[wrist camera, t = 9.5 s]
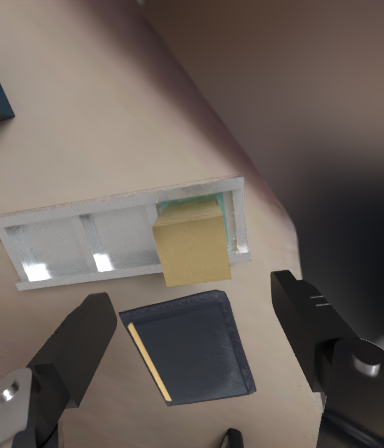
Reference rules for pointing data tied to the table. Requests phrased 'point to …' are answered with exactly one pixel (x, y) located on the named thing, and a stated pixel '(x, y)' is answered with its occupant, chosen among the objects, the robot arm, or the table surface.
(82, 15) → the table surface
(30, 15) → the table surface
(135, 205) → the tray with compartments
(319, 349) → the robot arm
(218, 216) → the tan block
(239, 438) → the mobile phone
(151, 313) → the dark blue notebook
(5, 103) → the watch
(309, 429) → the table surface
